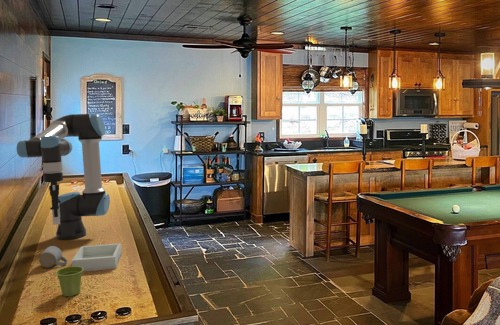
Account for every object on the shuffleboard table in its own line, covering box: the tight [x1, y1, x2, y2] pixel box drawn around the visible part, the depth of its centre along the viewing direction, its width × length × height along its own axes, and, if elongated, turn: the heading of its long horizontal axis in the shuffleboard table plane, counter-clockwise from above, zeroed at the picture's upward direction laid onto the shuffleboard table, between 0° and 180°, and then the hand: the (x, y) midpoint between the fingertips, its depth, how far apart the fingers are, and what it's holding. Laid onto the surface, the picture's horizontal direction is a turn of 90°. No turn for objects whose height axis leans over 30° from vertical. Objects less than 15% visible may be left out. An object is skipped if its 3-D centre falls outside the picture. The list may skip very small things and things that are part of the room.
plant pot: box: [55, 265, 84, 297], centre depth 168 cm, size 9×9×9 cm
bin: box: [71, 243, 122, 273], centre depth 202 cm, size 20×17×5 cm
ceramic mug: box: [38, 245, 68, 269], centre depth 201 cm, size 11×8×8 cm
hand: (56, 221), depth 200 cm, fingers open, 13 cm apart
